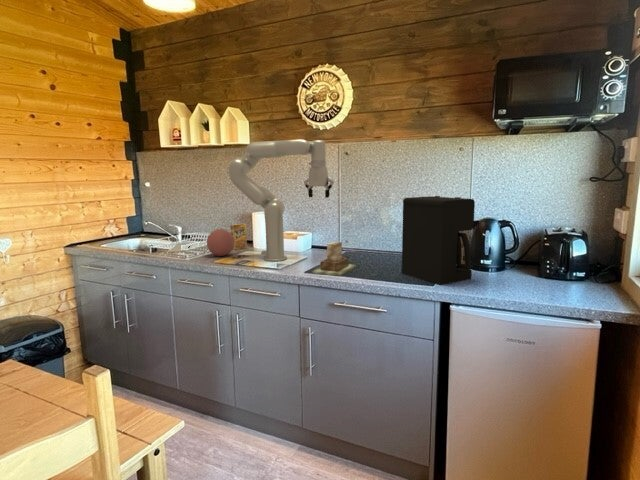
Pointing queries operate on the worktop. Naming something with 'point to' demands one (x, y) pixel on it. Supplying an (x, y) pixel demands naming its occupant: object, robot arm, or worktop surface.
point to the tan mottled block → (334, 251)
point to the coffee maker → (437, 238)
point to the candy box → (239, 235)
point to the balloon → (220, 242)
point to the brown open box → (334, 267)
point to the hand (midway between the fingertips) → (318, 197)
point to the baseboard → (177, 248)
